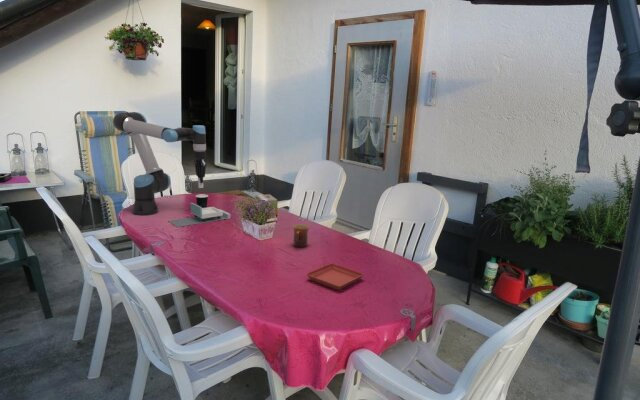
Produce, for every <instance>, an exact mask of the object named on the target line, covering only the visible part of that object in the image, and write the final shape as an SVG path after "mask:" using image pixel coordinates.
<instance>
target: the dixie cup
mask: <svg viewBox="0 0 640 400" xmlns="http://www.w3.org/2000/svg"><path fill="white" fill-rule="evenodd" d="M208 198H209V195H208V194H201V193H199V194H197V195H195V199H196V205H198V206H200V207H202V208H207V207H208Z"/></svg>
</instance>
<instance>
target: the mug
mask: <svg viewBox="0 0 640 400" xmlns="http://www.w3.org/2000/svg"><path fill="white" fill-rule="evenodd" d="M292 229H293V238H292V239H293V246H295V247H297V248H304V247H306V246H307V245H308V243H309V241H308V239H309V237H308V236H309V234H308V233H309V230H310V226H309V225H307V224H301V223H299V224H294V225H292Z"/></svg>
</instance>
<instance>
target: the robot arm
mask: <svg viewBox="0 0 640 400" xmlns="http://www.w3.org/2000/svg"><path fill="white" fill-rule="evenodd" d="M112 124H113V127H114V128H115V129H116V130H117V131H119V132H123V133H127V136H129V137H131V139H132V141H133V143H134V146H135V148H136V151H137V153H138V155H139V158H140V160H141V163H142V165H143V168H144V170H145V174H139V175H137V176H135V177H134V178H133V192H134V202H133V206H132V214H133V215H136V216H149V215H150V214H151V215H154V214H157V213H158V212H159V208H158V205H157V203H156V198H155V194H158V193H161V192H164V191H166V190H167V189H168V190H169V188H170V185H171V183H172V182H171V178H170V176H169V174H168V173H166V172H164V170H163V168H161V167H159V164H158V161H157V159H156V156H155V154H154V152H153V149H152V147H151V144H150V142H149V139H148V137H147V136H149V137H150V138H151V137H152V138H156V139H161V140H163V141H165V142H167V143H175V142H181V141H182V142H183V141H192V143H193V144H192V148H193V157H194V158H195V159H194V160H193V163H194V167H195V168H194V169H195V175H196V177H197V183H198V184H197V185H198V186H197V188H198V189H203V188H204V178H205V177H206V167H207V162H205V158H206V157H207V151H206V150H207V142H206V141H207V140H206V138H207V137H206V135H207V133H206V126H205V125H200V124H199V125H197V124H196V125H192V128H190V127H177V128H171V127H166V126H162V125H159V124H153V123H149V122H148V121H147V118H146V117H145V115H143V114H142V113H141V112H135V111H132V112H131V111H129V112H128V111H127V112H118V113H116V114H115V115H114V117H113V119H112ZM151 215H150V216H151Z"/></svg>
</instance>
